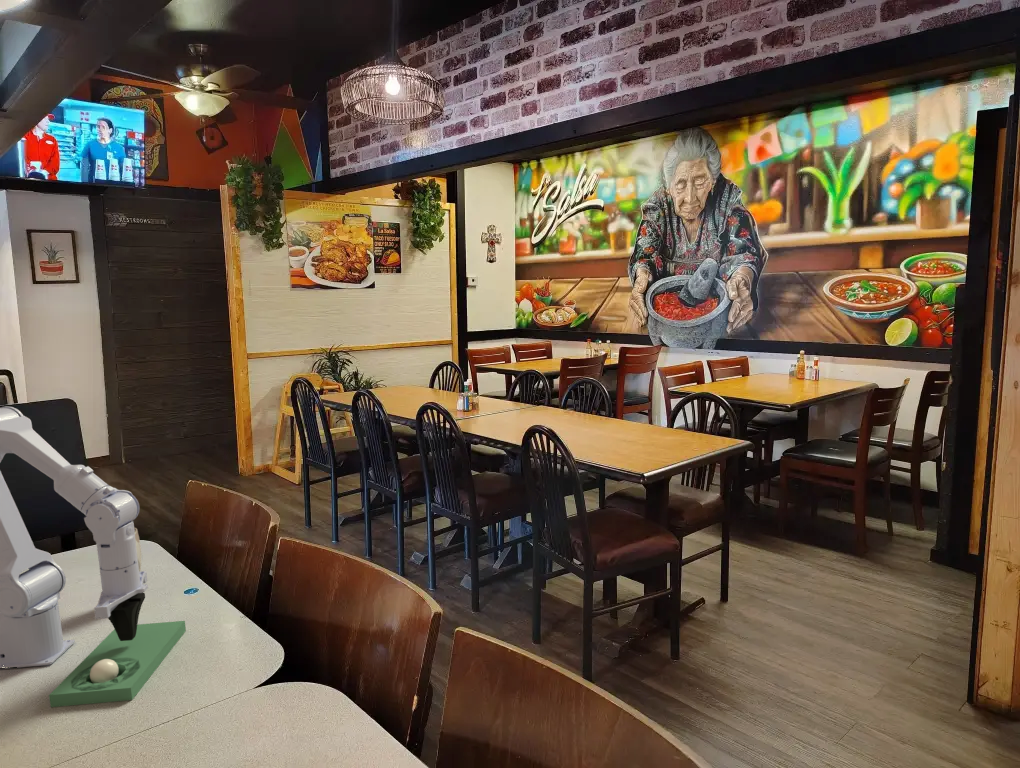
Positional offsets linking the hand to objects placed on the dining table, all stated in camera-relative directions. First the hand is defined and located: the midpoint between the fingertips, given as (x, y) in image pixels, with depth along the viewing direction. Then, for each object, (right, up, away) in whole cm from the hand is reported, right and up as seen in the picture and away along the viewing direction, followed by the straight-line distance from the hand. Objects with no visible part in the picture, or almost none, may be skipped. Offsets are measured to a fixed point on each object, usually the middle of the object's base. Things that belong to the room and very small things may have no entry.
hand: (127, 638), depth 119 cm
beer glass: (-12, -1, +22) cm, 26 cm away
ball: (+1, -2, -8) cm, 9 cm away
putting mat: (+1, -4, -2) cm, 4 cm away
